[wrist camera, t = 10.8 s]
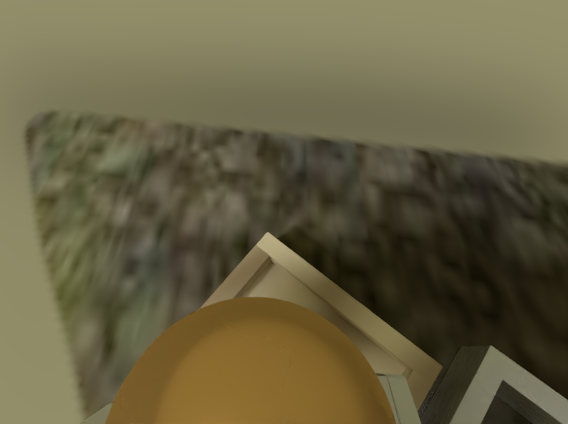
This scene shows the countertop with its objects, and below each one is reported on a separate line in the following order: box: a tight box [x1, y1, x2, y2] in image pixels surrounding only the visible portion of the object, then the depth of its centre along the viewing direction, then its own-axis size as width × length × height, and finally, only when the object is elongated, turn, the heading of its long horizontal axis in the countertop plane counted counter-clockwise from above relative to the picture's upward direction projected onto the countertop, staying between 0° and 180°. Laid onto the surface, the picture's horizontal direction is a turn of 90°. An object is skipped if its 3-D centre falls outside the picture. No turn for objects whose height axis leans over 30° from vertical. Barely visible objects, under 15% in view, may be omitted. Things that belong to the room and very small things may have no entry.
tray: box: [200, 232, 443, 412], centre depth 16 cm, size 11×11×2 cm
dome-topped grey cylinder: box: [105, 297, 396, 424], centre depth 10 cm, size 5×5×11 cm
